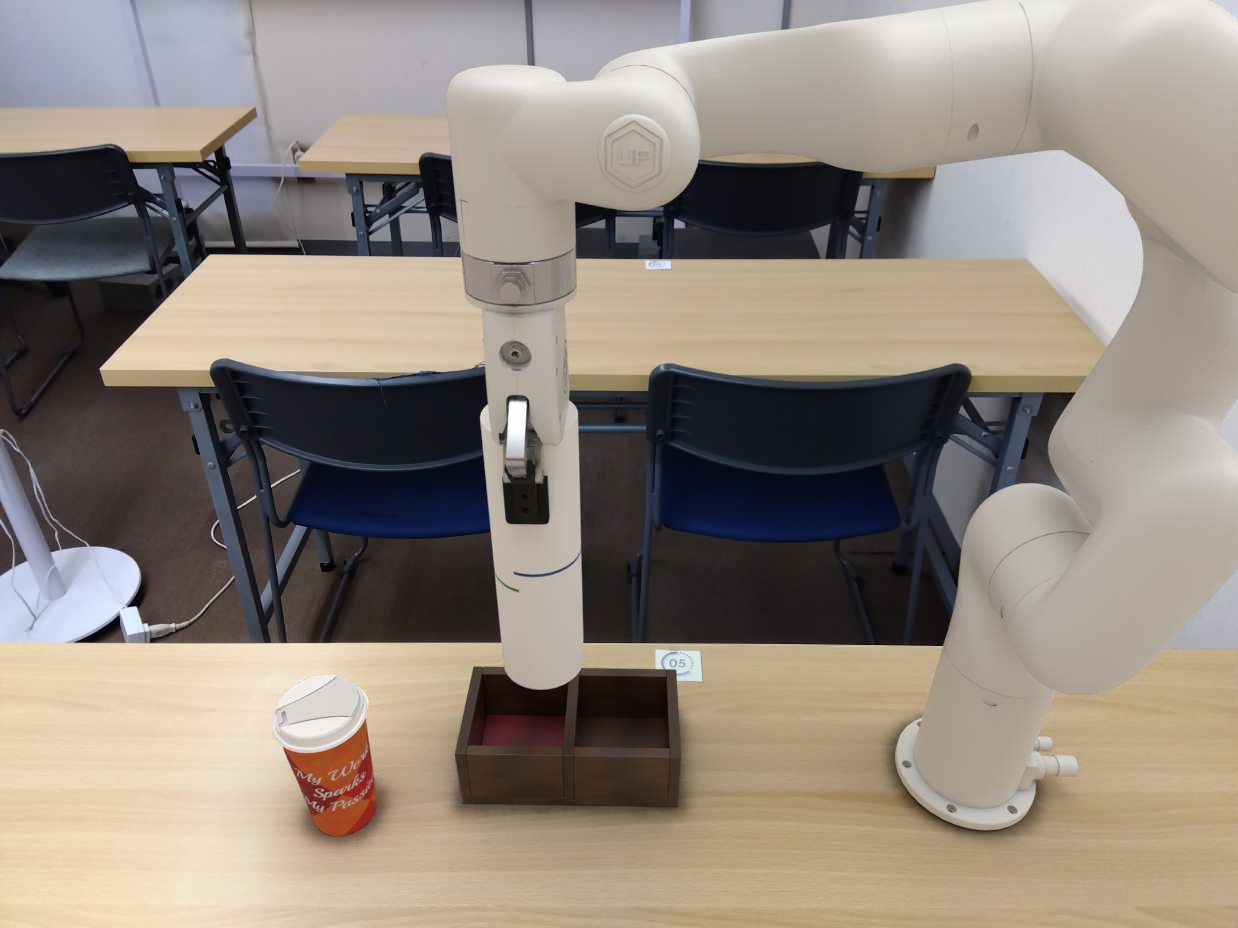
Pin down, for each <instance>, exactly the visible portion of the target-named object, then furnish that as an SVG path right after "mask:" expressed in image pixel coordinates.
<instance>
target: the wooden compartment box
mask: <svg viewBox="0 0 1238 928" xmlns="http://www.w3.org/2000/svg"><path fill="white" fill-rule="evenodd" d="M677 675H678V674H677V669H675V668H674V669H672V668H667V669H666V668H617V667H616V668H613V667H611V668H610V667H582V668H581V670H580V671H579V673H578V674H577V675H576V676H575V677H574V678H573V679H572V680H571V681H569V682H567V683H566V684H564V685H561V686H559V687H556V688H551V689H542V690H539V689H531V688H526V687H524V686H521V685H519V684H517V683H516V682H514V681H513V680H512V679H511V678H510V677H509V676H508V675H507V673H506V671H505V669H504V666H485V665H484V666H478V665H477V666H476V665H475V666H473V667H472V671H471V676H470V681H469V685H468V689H467V695H466V699H465V703H464V710H463V714H462V717H461V722H460V727H459V732H458V736H457V740H456V745H455V751H454V759H455V767H456V771H457V772H456V773H457V779H458V785H459V792H460V796H461V797H460V798H461V803H462V804H473V805H475V804H476V805H477V804H481V805H534V806H535V805H537V806H538V805H539V806H540V805H541V806H546V805H547V806H596V807H597V806H599V807H601V806H603V807H654V808H655V807H657V808H658V807H659V808H678V807H679V797H680V782H681V780H680V779H681V769H682V767H681V766H682V748H681V747H682V746H681V745H682V744H681V729H680V728H681V727H680V726H681V725H680V708H679V693H678V690H679V689H678V676H677Z"/></svg>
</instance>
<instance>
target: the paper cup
mask: <svg viewBox="0 0 1238 928" xmlns="http://www.w3.org/2000/svg"><path fill="white" fill-rule="evenodd" d="M369 706H370V701H369V697H368V695H367V693H366V692H365V690H364V689H362V688H361V687H359V686H358V685H357V684H355V683H353V682H352V681H350V680H349V679H347V678H345V677H342V676H340V675H337V674H321V675H316V676H312V677H309V678H306V679H304V680H302V681H300V682H298V683H296V684H295V685H293V686H292V687H290V688H289V689H288V690H287V691H286V692H285V693H284V694H283V695H282V697H281V698H280V699H279V701H278V703H277V705H276V708H275V711H274V715H273V719H272V723H271V724H272V725H271V730H272V735H273V737H274V739H275V741H276V742H277V743H278V744H279V745H280V746H281V747H282V749H283V751H284V754H285V757H286V760H287V762H288V764H289V766H290V769H291V770H292V773H293V776H294V777H295V779H296V781H297V784H298V787H299V789H300V792H301V794H302V796H303V798H304V801H305V803H306V805H307V808H308V810H309V813H310V814H311V818H312V819H313V822H314V823H315V825H316V827H317V828H318V830H320V831H321V833H324V834H325V835H328V836H331V837H344V836H349V835H352V834H355V833H356V832H358V831H360V830H362V828H364V827H365V826H366V825H368V823H369V822H370V821H371V820H372V818H373V816H374V814H375V812H376V809H377V802H378V801H377V791H376V789H377V788H376V782H375V775H374V768H373V767H374V766H373V758H372V751H371V745H370V737H369V730H368V724H367V723H368V722H367V715H368V710H369Z"/></svg>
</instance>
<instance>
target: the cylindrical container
mask: <svg viewBox="0 0 1238 928" xmlns="http://www.w3.org/2000/svg"><path fill="white" fill-rule="evenodd" d="M479 421H480V431H481V440H482V441H481V442H482V443H481V444H482V453H483V462H484V471H485V472H484V473H485V475H484V476H485V485H486V495H487V505H488V506H487V507H488V516H489V526H490V536H491V546H492V547H491V548H492V557H493V569H494V578H495V580H494V581H495V589H496V600H497V601H496V602H497V610H498V611H497V612H498V622H499V631H500V642H501V643H500V644H501V653H502V663H503V667H504V669H505V671H506V673H507V675H508V676H509V677H510V678H511V679H512V680H513V681H514V682H516V683H517V684H519V685H521V686H524V687H526V688H531V689H539V690H542V689H551V688H556V687H559V686H561V685H564V684H566V683H567V682H569V681H571V680H572V679H573V678H574V677H575V676H576V675H577V674H578V673H579V671H580V670H581V668H583V665H584V660H585V658H584V657H585V656H584V654H585V653H584V652H585V651H584V650H585V649H584V618H583V617H584V613H583V612H584V611H583V610H584V609H583V608H584V607H583V604H584V603H583V570H582V569H583V568H582V528H581V527H582V525H581V482H580V478H581V477H580V443H579V442H580V439H579V437H580V436H579V411H578V409H577V406H576V405H575V404H574V403H573V402H572V401H571V400H569V403H568V411H567V418H566V425H565V431H564V437H563V440H562V441H561V443H560V444H559V445H557V446H554V447H553V445H543V448H544V476H548V491H549V511H550V518H549V522H548V524H545V525H532V524H508V523H507V522H506V520H505V508H504V496H503V484H502V477H503V444H502V446H500V445H498V444H497V443H496V442H495V441H494V440H493V438H492V433H491V427H490V419H489V409H488V404H486V405H485V406H484V407H483V409H482V410H481V412H480V416H479ZM527 438H537V433H536V431H535V430H528V435H527ZM527 456H528V460H532V462H533V464H534V465H535V447H527Z"/></svg>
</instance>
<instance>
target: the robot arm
mask: <svg viewBox="0 0 1238 928" xmlns="http://www.w3.org/2000/svg"><path fill="white" fill-rule="evenodd" d="M445 101H446V102H445V103H446V117H447V127H448V137H449V138H448V139H449V148H450V157H451V158H450V159H451V167H452V169H451V170H452V179H453V188H454V199H455V208H456V220H457V227H458V239H459V246H460V249H459V250H460V259H461V270H462V279H463V288H464V298H465V300H466V301H467V303H469V304H471V305H472V306H474V307H475V308H478V309H480V310H481V317H482V318H481V319H482V342H483V355H484V372H485V384H486V385H485V387H486V397H487V405H488V409H489V419H490V427H491V433H492V438H493V440H494V441H495V442H496V443H497V444H498V445H500V446H502V444H503V477H502V484H503V496H504V508H505V520H506V522H507V523H508V524H532V525H545V524H548V522H549V518H550V511H549V491H548V476H544V448H543V445H553V447H554V446H557V445H559V444H560V443H561V441H562V440H563V437H564V431H565V425H566V418H567V411H568V403H569V401H570V391H571V390H570V389H571V388H570V385H571V384H570V383H571V382H570V372H569V371H570V370H569V358H568V357H569V355H568V354H569V353H568V336H567V320H566V319H567V317H566V307H565V305H567V304H568V303H570V302H571V301H572V300H573V299H575V298H576V296H577V293H578V284H577V282H578V279H577V235H576V234H577V233H576V231H577V229H576V203H581V204H586V205H589V206H591V205H592V206H594V207H595V206H596V207H601V208H606V209H613V210H619V211H628V212H629V211H630V212H631V211H632V212H633V211H635V212H636V211H649V210H652V209H656V208H659V207H661V206H664V205H666V204H668V203H670V202H672V201H673V200H674V199H675V198H677V197H678V196H679V195H680V194H681V193H682V192H684V190H685V189H686V188H687V187H688V185H689V184H690V182H691V181H692V179H693V178H694V175H695V174H696V170H697V168H698V164H699V160H705V159H712V158H720V157H727V156H736V155H737V156H738V155H750V154H752V155H753V154H777V155H788V156H789V155H790V156H797V157H803V158H806V159H811V160H813V161H817V162H821V163H823V164H827V165H830V166H833V167H836V168H838V169H844V170H850V171H856V172H864V173H872V174H873V173H874V174H887V173H896V172H901V171H902V172H903V171H908V170H915V169H921V168H929V167H936V166H943V165H944V166H945V165H951V164H958V163H964V162H965V163H966V162H972V161H979V160H987V159H993V158H995V159H996V158H1000V157H1001V158H1002V157H1008V156H1009V157H1010V156H1017V155H1024V154H1032V153H1040V152H1041V153H1042V152H1049V151H1063V152H1065V153H1067V154H1068V155H1070V156H1072V157H1074V158H1075V159H1077V160H1078V161H1080V162H1082V163H1083V164H1085V165H1087V166H1088V167H1090V168H1091V169H1093V170H1094V171H1095V172H1097V173H1098V174H1099V175H1100V176H1101V177H1102V178H1103V179H1104V180H1106V181H1107V182H1108V183H1109V184H1110V185H1111V186H1112V187H1113V188H1114V189H1115V190H1116V191H1117V192H1119V194H1121V195H1122V196H1123V198H1124V202H1125V205H1126V208H1127V210H1128V212H1129V214H1130V217H1131V218H1132V219H1133V221H1134V222H1135V224H1136V227H1137V228H1138V232H1139V236H1140V240H1141V245H1142V273H1141V277H1140V282H1139V287H1138V290H1137V294H1136V296H1135V298H1134V300H1133V303H1132V305H1131V307H1130V308H1129V310H1128V312H1127V313H1126V315H1125V317H1124V319H1123V321H1122V322H1121V324H1120V325H1119V328H1118V329H1117V331H1116V333H1115V335H1114V336H1113V337H1112V339H1111V340H1110V342H1109V343H1108V345H1107V346H1106V348H1105V349H1104V351H1103V352H1102V353H1101V355H1100V356H1099V358H1098V359H1097V361H1096V362H1095V364H1094V365H1093V367H1092V369H1091V370H1090V371H1089V373H1088V374H1087V375H1086V377H1085V379H1084V380H1083V381H1082V383H1081V385H1079V387H1078V389H1077V391H1076V392H1075V393H1074V395H1073V396H1072V398H1071V399H1070V401H1069V402H1068V404H1067V405H1066V406H1065V408H1064V409H1063V411H1062V413H1061V414H1060V416H1059V418H1058V419H1057V420H1056V423H1055V424H1054V426H1053V429H1052V430H1051V433H1050V434H1049V437H1048V438H1049V439H1048V442H1047V455H1048V458H1049V462H1050V464H1051V466H1052V469H1053V471H1054V473H1055V475H1056V476H1057V478H1058V479H1059V481H1060V483H1061V484H1062V485H1063V488H1064V489H1065V490H1066V492H1067V493H1068V494H1067V493H1065V492H1064V491H1062V490H1060V489H1058V488H1056V487H1053V486H1050V485H1046V484H1042V483H1033V482H1027V483H1025V482H1023V483H1017V484H1013V485H1009V486H1006V487H1003V488H1001V489H999V490H997V491H996V492H994V493H993V494H991V495H990V496H989V497H987V498H986V499H985V500H984V501H983V502H982V503H980V505H979V506H978V507H977V509H976V510H975V512H974V513H973V514H972V516H971V517H970V519H969V522H968V523H967V526H966V529H965V533H964V535H963V540H962V544H961V552H960V560H959V570H958V580H957V591H956V596H955V602H954V606H953V609H952V610H953V611H952V615H951V618H950V622H949V625H948V629H947V633H946V636H945V638H944V641H943V644H942V648H941V652H940V655H939V658H938V662H937V666H936V669H935V672H934V676H933V679H932V683H931V685H930V689H929V694H928V697H927V700H926V704H925V708H924V711H923V714H922V717H919V718H917V719H915V720H913V721H912V722H910V723H909V724H908V725H907V726H905V728H904V729H903V730H902V732H901V733H900V735H899V738H898V740H897V742H896V747H895V751H894V763H895V767H896V772H897V775H898V776H899V778H900V781H901V783H902V784H903V786H904V787H905V789H906V790H907V791H908V793H909V794H910V795H911V797H912V798H914V799H915V800H916V802H917V803H919V804H920V805H921V806H922V807H923V808H924V809H926V810H927V811H929V812H930V813H932V815H935V816H936V817H938V818H940V819H942V820H943V821H946V822H948V823H950V824H953V825H956V826H959V827H962V828H966V829H970V830H978V831H995V830H1001V829H1005V828H1008V827H1009V828H1010V827H1012V826H1013V825H1015V824H1017V823H1018V822H1020V821H1021V820H1022V819H1023V818H1024V817H1026V816H1027V814H1028V812H1029V811H1030V809H1031V807H1032V804H1033V802H1034V799H1035V796H1036V790H1037V789H1036V788H1037V785H1036V780H1043V779H1044V778H1045V776H1054V777H1055V778H1058V777H1060V778H1075V777H1077V776H1078V774H1079V764H1078V761H1077V759H1076V757H1075V756H1074V755H1071V754H1051V755H1042V753H1040V752H1052V751H1053V747H1054V746H1053V740H1052V738H1051V737H1050V736H1048V735H1047V736H1046V735H1045V736H1044V735H1043V736H1040V734H1041V731H1042V729H1043V726H1044V723H1045V721H1046V719H1047V716H1048V714H1049V712H1050V710H1051V706H1052V704H1053V702H1054V699H1055V696H1056V694H1057V692H1058V693H1060V694H1064V695H1070V696H1090V695H1096V694H1100V693H1105V692H1108V691H1111V690H1113V689H1115V688H1117V687H1120V686H1121V685H1124V684H1125V683H1127V682H1129V681H1130V680H1132V679H1134V677H1136V676H1138V675H1139V674H1140V673H1141V672H1143V671H1144V670H1145V669H1146V668H1148V667H1149V666H1150V665H1151V664H1152V663H1153V662H1154V661H1155V660H1156V659H1157V658H1158V657H1159V656H1160V655H1161V654H1162V653H1163V652H1164V651H1165V650H1166V649H1167V648H1168V646H1169V645H1171V643H1173V641H1174V640H1175V639H1176V638H1177V637H1178V636H1179V635H1180V634H1181V632H1183V630H1184V629H1185V628H1186V627H1187V626H1188V625H1189V624H1190V623H1191V622H1192V620H1193V619H1195V618H1196V616H1197V615H1198V614H1199V613H1200V612H1201V611H1202V610H1203V608H1205V606H1206V605H1207V604H1208V603H1209V602H1210V601H1211V600H1212V599H1213V597H1214V596H1215V595H1216V594H1217V593H1218V592H1219V591H1220V590H1221V588H1223V587H1224V585H1225V584H1226V583H1227V582H1228V581H1229V580H1230V579H1231V578H1232V576H1234V575H1235V574H1236V572H1237V571H1238V451H1237V450H1236V449H1235V448H1233V446H1231V445H1230V444H1229V443H1228V442H1227V441H1226V440H1225V439H1224V438H1223V437H1222V436H1221V426H1222V423H1223V422H1224V420H1225V418H1226V416H1228V413H1229V412H1230V410H1231V409H1232V407H1233V406H1234V405H1235V404H1236V402H1237V401H1238V18H1237V17H1235V15H1233V14H1232V13H1231V12H1229V11H1228V10H1227V9H1225V7H1224V8H1223V7H1222V6H1221V5H1220V4H1217V3H1216V2H1214V1H1213V0H980V1H974V2H968V3H961V4H954V5H948V6H942V7H935V8H928V9H922V10H916V11H909V12H903V13H895V14H888V15H881V16H874V17H868V18H858V19H849V20H841V21H833V22H832V21H831V22H826V23H821V24H815V25H811V26H805V27H797V28H787V29H779V30H769V31H759V32H753V33H744V34H743V33H742V34H736V35H728V36H721V37H714V38H709V39H703V40H696V41H690V42H689V41H688V42H683V43H682V42H681V43H676V44H669V45H664V46H657V47H651V48H647V49H641V50H637V51H632V52H629V53H626V54H623V55H621V56H618V57H617V58H614V59H613V60H610V61H609V62H608V63H607V64H606V65H604V66H603V67H602V68H601V69H600V70H599V71H598V72H597V73H596V75H595V76H594V77H593V79H590V80H577V81H576V80H575V81H567V80H566V79H565V77H564V75H561V74H560V73H559V72H558V71H555V70H553V69H551V68H548V67H545V66H538V65H527V64H492V65H483V66H476V67H472V68H467V69H465V70H463V71H460V72H458V73H457V74H455V76H454V77H453V78H451V81H450V82H449V84H448V86H447V90H446V97H445ZM528 430H535V431H536V433H537V438H527V435H528ZM527 447H535V465H534V464H533V462H532V460H528V456H527Z"/></svg>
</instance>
